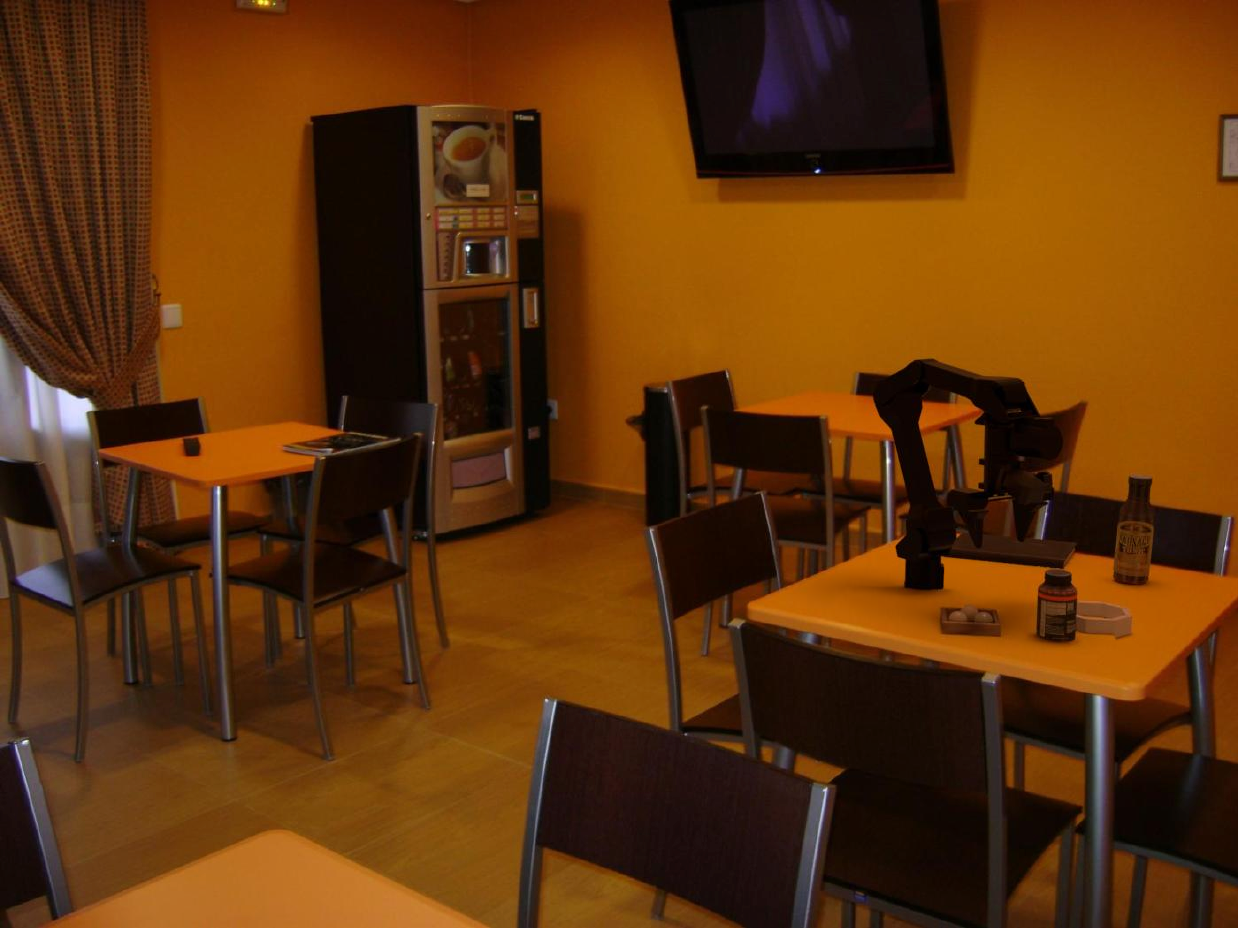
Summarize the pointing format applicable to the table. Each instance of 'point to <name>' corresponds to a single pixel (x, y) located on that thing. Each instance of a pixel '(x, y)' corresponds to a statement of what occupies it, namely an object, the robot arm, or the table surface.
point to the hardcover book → (1014, 550)
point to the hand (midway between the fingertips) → (999, 544)
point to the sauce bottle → (1135, 533)
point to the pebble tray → (970, 624)
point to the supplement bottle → (1057, 607)
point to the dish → (1112, 623)
